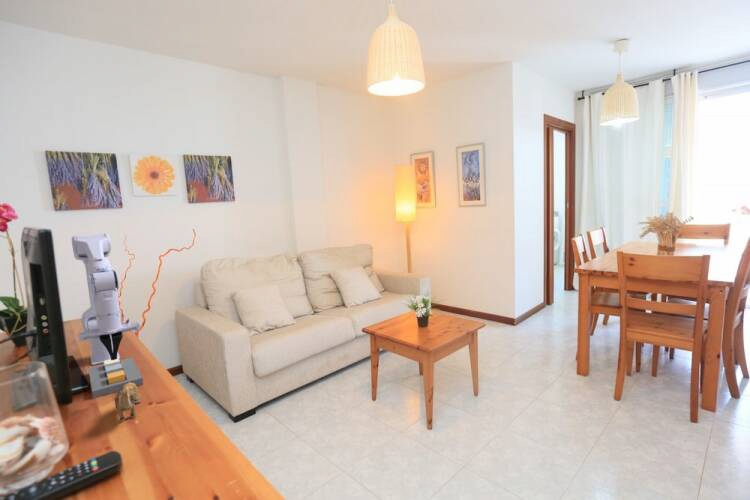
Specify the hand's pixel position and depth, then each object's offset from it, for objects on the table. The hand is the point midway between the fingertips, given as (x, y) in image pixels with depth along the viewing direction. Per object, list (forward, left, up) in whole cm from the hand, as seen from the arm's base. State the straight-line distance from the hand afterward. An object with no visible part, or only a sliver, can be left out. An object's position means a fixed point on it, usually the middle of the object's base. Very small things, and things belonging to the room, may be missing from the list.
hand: (113, 358), depth 112 cm
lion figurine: (+21, +1, -9) cm, 23 cm away
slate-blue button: (-7, 0, -7) cm, 10 cm away
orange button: (0, 0, -7) cm, 7 cm away
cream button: (-13, 0, -7) cm, 15 cm away
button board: (-7, 0, -8) cm, 11 cm away
